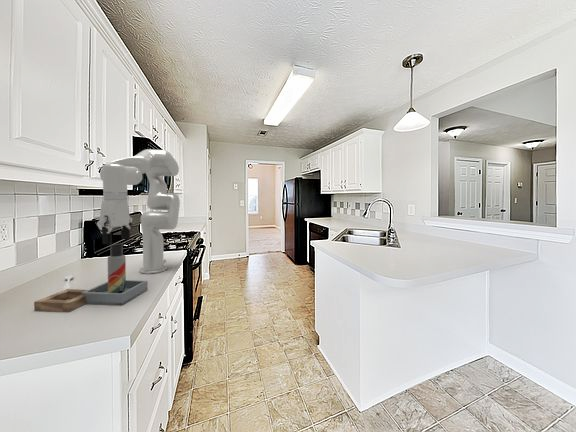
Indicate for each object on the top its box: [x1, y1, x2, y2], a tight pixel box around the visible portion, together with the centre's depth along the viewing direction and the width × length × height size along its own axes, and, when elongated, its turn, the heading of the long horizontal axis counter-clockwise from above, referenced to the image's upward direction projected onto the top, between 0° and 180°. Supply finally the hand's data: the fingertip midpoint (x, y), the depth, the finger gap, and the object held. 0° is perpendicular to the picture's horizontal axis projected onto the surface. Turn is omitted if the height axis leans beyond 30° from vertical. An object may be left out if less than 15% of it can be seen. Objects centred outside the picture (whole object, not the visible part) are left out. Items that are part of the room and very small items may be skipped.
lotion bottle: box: [107, 243, 127, 293], centre depth 95 cm, size 6×6×20 cm
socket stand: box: [33, 288, 98, 313], centre depth 88 cm, size 12×12×3 cm
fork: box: [62, 274, 74, 291], centre depth 110 cm, size 3×21×3 cm, turn 38°
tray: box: [81, 279, 148, 306], centre depth 96 cm, size 15×15×4 cm
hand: (116, 241), depth 95 cm, fingers open, 9 cm apart
